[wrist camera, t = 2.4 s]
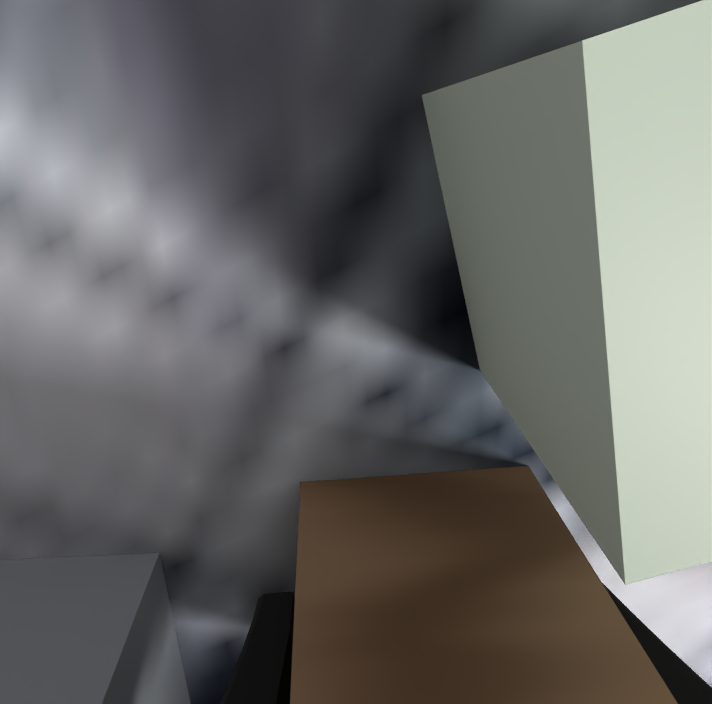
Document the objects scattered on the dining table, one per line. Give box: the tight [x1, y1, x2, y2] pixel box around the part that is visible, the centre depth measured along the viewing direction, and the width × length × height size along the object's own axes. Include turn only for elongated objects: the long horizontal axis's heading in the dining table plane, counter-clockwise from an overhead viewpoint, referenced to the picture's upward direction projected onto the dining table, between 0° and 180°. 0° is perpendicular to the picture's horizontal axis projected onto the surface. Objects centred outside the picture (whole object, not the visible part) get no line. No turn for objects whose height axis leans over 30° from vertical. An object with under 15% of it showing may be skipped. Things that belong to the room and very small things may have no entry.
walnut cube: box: [290, 466, 678, 704], centre depth 9 cm, size 5×5×5 cm
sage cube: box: [422, 0, 712, 585], centre depth 6 cm, size 5×5×5 cm
